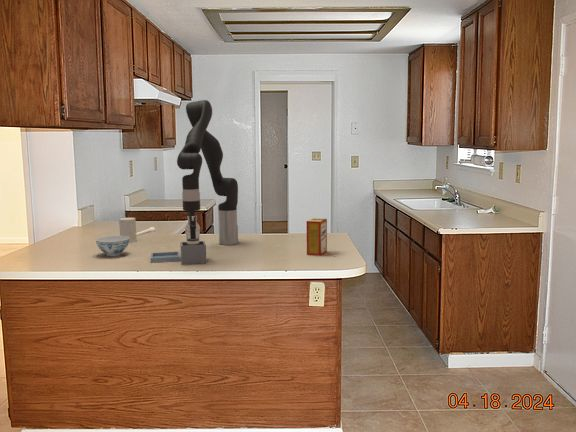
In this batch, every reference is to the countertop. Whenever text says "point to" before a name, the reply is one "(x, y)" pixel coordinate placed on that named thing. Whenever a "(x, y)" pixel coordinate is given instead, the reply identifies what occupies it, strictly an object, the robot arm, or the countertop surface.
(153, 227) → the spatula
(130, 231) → the cup
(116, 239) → the chinaware
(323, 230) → the baking soda box
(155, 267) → the countertop surface
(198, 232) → the plastic bottle
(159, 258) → the tray
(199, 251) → the holder
